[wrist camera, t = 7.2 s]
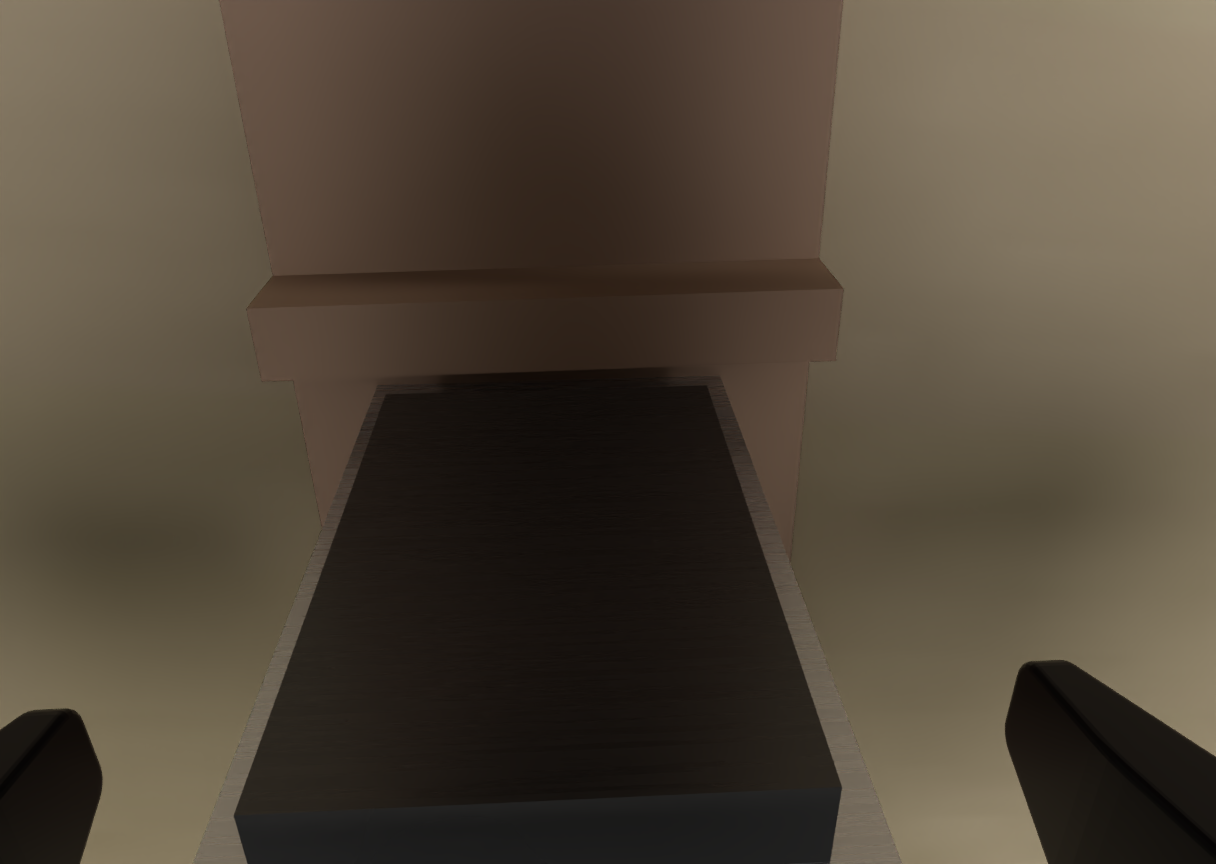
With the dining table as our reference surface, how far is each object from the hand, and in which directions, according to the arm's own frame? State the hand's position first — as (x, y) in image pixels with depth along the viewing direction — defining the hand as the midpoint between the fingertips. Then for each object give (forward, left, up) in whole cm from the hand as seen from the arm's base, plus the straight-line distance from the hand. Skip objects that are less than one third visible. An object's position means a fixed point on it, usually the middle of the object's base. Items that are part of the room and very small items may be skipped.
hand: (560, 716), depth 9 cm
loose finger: (0, 0, -3) cm, 3 cm away
